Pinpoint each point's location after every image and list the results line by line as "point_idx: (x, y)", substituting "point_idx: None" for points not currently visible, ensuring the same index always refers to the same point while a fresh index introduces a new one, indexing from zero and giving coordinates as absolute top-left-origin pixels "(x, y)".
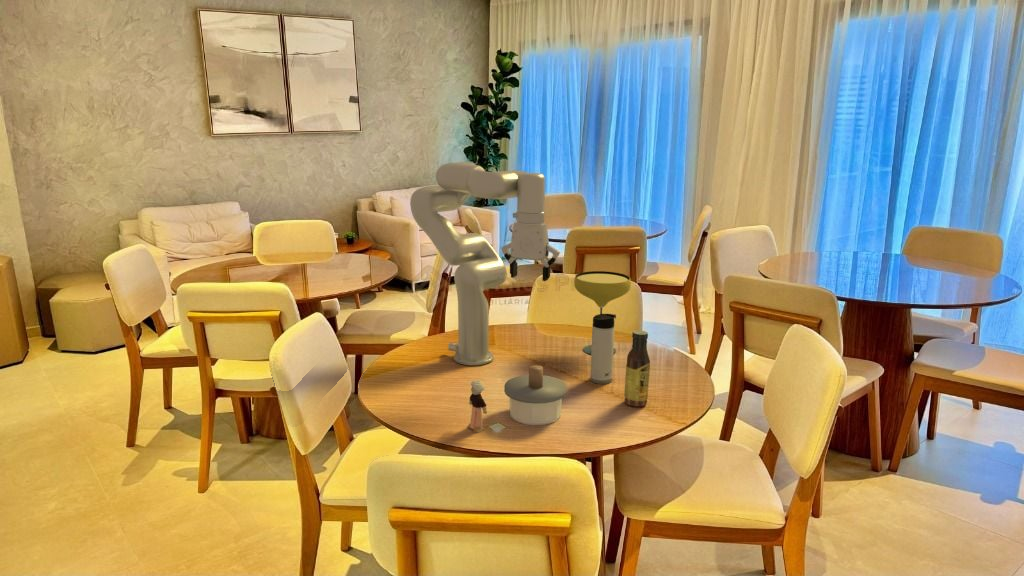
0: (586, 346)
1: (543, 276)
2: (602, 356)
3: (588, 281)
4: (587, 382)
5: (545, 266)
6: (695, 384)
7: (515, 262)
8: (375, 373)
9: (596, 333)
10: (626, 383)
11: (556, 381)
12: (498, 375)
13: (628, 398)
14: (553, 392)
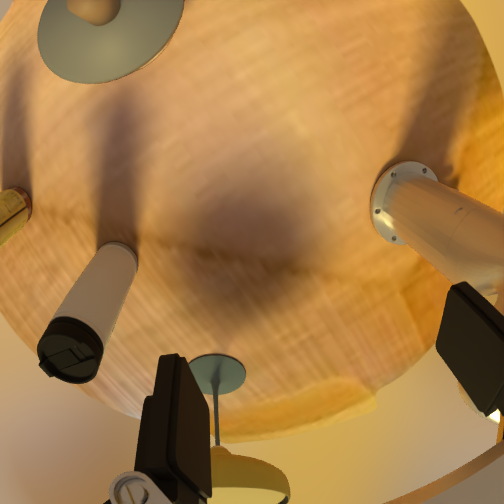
0: (242, 375)
1: (167, 382)
2: (82, 274)
3: (236, 489)
4: (129, 234)
5: (146, 479)
6: (21, 327)
7: (499, 401)
8: (487, 57)
9: (76, 306)
10: (2, 202)
11: (76, 67)
12: (316, 148)
13: (10, 189)
14: (54, 18)
